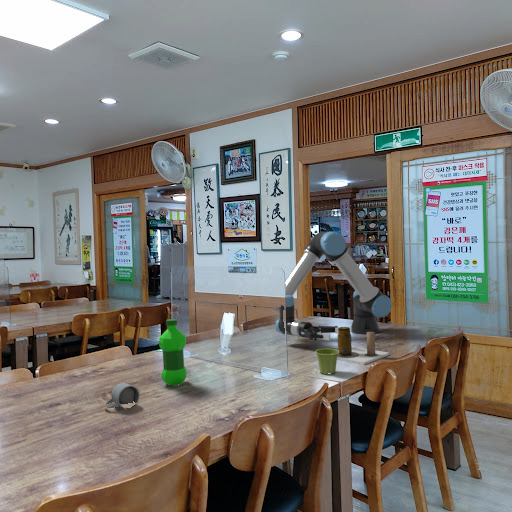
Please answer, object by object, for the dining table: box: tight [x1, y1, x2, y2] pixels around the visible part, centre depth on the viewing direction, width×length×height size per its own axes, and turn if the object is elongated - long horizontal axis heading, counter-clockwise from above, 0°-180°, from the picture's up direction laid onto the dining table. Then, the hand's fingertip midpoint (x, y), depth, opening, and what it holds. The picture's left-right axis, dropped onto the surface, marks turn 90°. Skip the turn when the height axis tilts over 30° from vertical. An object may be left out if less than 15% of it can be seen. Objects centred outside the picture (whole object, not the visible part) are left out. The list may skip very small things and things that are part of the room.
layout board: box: [337, 332, 390, 365], centre depth 211 cm, size 20×18×11 cm
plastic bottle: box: [158, 318, 188, 386], centre depth 182 cm, size 10×10×25 cm
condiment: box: [337, 326, 358, 357], centre depth 211 cm, size 7×8×12 cm
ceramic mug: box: [104, 382, 140, 408], centre depth 160 cm, size 11×8×8 cm
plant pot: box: [315, 348, 339, 375], centre depth 189 cm, size 9×9×9 cm
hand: (338, 334), depth 213 cm, fingers open, 13 cm apart
